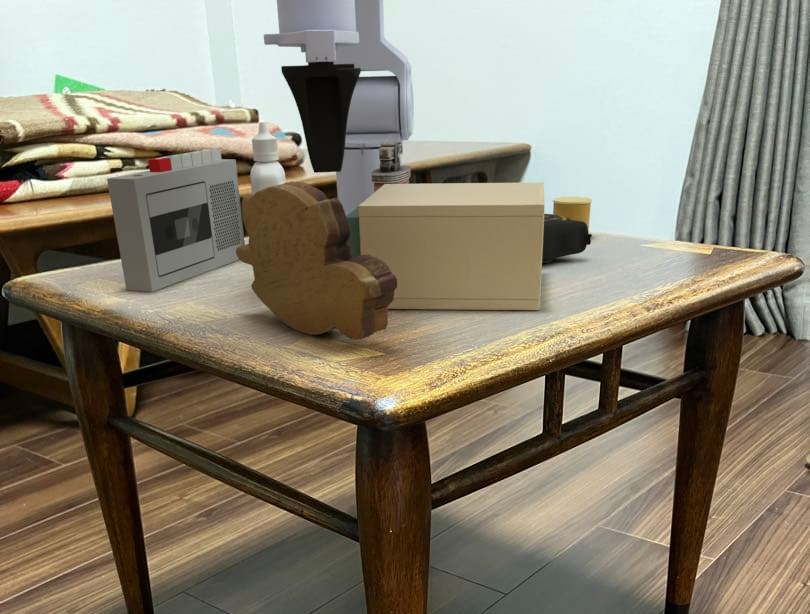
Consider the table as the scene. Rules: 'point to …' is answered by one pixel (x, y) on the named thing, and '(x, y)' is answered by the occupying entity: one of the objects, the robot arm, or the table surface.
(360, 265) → the wooden carving
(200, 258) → the cassette player
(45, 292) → the table surface
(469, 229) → the lidded cardboard box
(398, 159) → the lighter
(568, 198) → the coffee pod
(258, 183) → the eye dropper bottle
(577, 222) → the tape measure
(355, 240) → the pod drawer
